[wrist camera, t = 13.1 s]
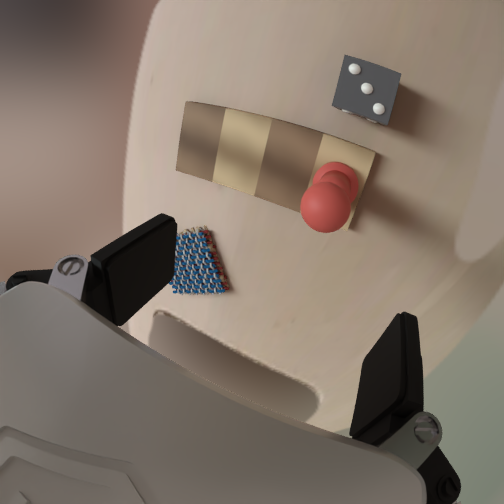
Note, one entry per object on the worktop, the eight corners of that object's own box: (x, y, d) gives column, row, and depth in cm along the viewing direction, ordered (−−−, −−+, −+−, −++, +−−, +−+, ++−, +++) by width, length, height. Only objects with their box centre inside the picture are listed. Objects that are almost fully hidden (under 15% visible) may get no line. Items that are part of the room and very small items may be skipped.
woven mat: (234, 289, 41) (228, 296, 39) (180, 290, 46) (174, 297, 44) (211, 222, 37) (203, 227, 36) (157, 233, 42) (149, 238, 41)
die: (348, 65, 22) (344, 54, 18) (395, 81, 21) (401, 73, 17) (337, 109, 25) (331, 107, 21) (383, 126, 24) (387, 126, 19)
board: (191, 101, 30) (185, 101, 29) (375, 151, 25) (375, 152, 24) (181, 168, 35) (175, 170, 34) (347, 227, 30) (346, 231, 29)
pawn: (321, 155, 26) (299, 172, 18) (364, 171, 25) (365, 197, 17) (309, 195, 29) (282, 231, 20) (349, 211, 28) (341, 255, 19)
